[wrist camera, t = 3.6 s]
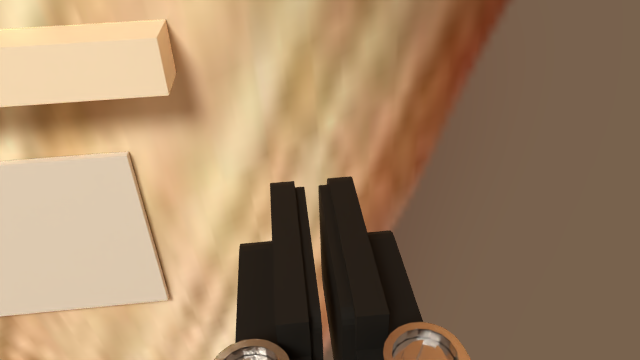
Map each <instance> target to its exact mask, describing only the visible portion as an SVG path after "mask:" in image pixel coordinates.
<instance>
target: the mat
mask: <svg viewBox="0 0 640 360" xmlns="http://www.w3.org/2000/svg"><path fill="white" fill-rule="evenodd" d="M168 297H169V294H168V290H167V287H166V283H165V280H164V276H163V272H162V269H161V265H160V262H159V258H158V255H157V251H156V248H155V244H154V241H153V237H152V233H151V230H150V226H149V223H148V219H147V216H146V212H145V209H144V205H143V202H142V198H141V194H140V191H139V187H138V184H137V180H136V177H135V173H134V170H133V166H132V163H131V159H130V155H129V152H115V153H102V154H88V155H75V156H62V157H49V158H36V159H23V160H10V161H0V316H9V315H20V314H30V313H41V312H51V311H62V310H72V309H82V308H93V307H103V306H114V305H124V304H135V303H145V302H155V301H166V300H168Z"/></svg>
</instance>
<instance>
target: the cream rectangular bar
mask: <svg viewBox="0 0 640 360" xmlns="http://www.w3.org/2000/svg"><path fill="white" fill-rule="evenodd" d="M175 76H176V68H175V63H174V58H173V53H172V48H171V43H170V38H169V33H168V28H167V23H166V19H162V20H145V21H128V22H112V23H95V24H78V25H62V26H45V27H28V28H12V29H0V107H9V106H24V105H38V104H52V103H67V102H81V101H95V100H110V99H124V98H138V97H153V96H167V95H169V94H170V91H171V88H172V85H173V82H174V79H175Z"/></svg>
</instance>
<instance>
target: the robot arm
mask: <svg viewBox="0 0 640 360" xmlns="http://www.w3.org/2000/svg"><path fill="white" fill-rule="evenodd" d="M270 194H271V221H272V241H268V242H257V243H246V244H240V249H239V271H238V295H237V319H236V342H235V343H234V344H232V345H230V346H228V347H227V348H226V349H224V350H223V351H221V352H220V353H219V354H218V356H217V357H216V358H215V359H214V360H323V339H322V322H321V311H320V303H319V295H318V288H317V280H316V273H315V265H314V258H313V250H312V243H311V235H310V227H309V220H308V212H307V205H306V197H305V190H304V187H296V188H295V185H294V181H291V182H279V183H270ZM319 213H320V239H321V265H322V281H323V289H324V296H325V303H326V310H327V317H328V324H329V331H330V337H331V344H332V351H333V358H334V360H471V359H470V357H469V355H468V353H467V352H466V350H465V348H464V347H463V345H462V344H461V343H460V341H459V340H458V339H457V337H456V336H454V335H453V334H452V333H450V332H449V331H448V330H446V329H444V328H442V327H440V326H437V325H435V324H431V323H425V322H423V320H422V317H421V314H420V312H419V309H418V306H417V303H416V300H415V297H414V294H413V291H412V288H411V285H410V282H409V279H408V276H407V273H406V270H405V267H404V264H403V261H402V258H401V255H400V253H399V250H398V247H397V243H396V241H395V238H394V235H393V233H392V232H391V231H380V232H369V233H367V230H366V226H365V223H364V219H363V215H362V212H361V208H360V204H359V201H358V197H357V193H356V190H355V186H354V183H353V179H352V177H340V178H328V179H327V185H320V186H319Z"/></svg>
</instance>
